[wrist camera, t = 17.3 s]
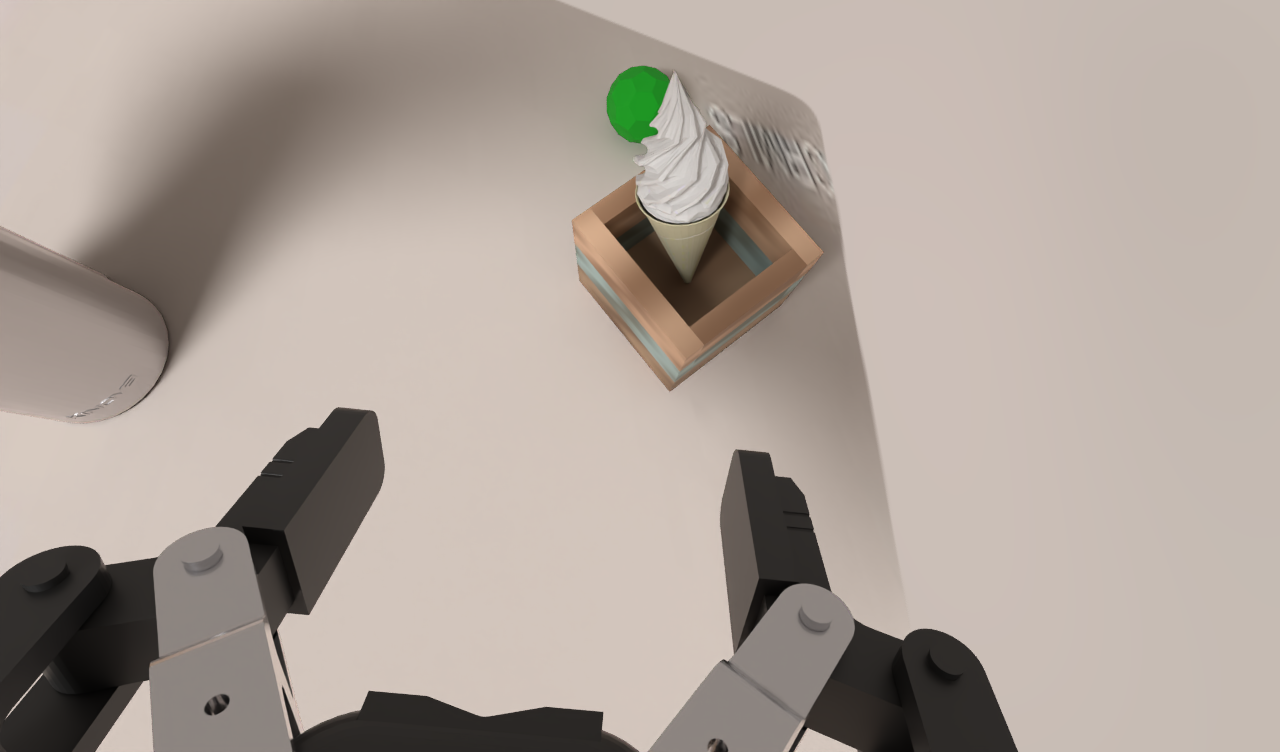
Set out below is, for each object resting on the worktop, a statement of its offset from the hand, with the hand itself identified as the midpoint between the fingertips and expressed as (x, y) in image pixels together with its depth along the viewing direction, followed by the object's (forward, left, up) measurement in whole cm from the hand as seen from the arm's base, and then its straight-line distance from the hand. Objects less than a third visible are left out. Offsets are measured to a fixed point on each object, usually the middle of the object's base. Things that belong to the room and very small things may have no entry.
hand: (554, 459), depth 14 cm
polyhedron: (-19, +19, -26) cm, 38 cm away
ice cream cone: (-7, +13, -23) cm, 28 cm away
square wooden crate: (-7, +13, -26) cm, 30 cm away
